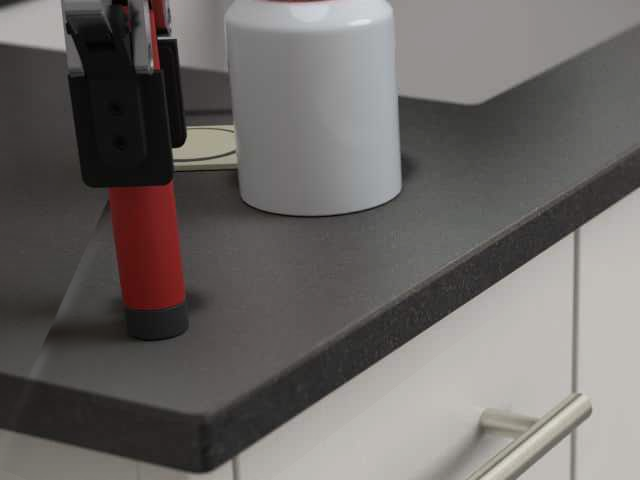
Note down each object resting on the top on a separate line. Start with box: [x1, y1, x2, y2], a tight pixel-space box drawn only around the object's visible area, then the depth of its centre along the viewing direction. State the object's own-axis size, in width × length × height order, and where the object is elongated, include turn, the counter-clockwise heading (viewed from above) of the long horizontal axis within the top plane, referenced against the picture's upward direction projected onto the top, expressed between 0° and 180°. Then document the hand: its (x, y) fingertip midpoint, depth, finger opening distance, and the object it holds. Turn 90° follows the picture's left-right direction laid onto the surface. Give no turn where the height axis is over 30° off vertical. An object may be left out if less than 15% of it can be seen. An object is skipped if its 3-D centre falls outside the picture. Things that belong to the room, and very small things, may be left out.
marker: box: [106, 6, 190, 341], centre depth 61 cm, size 2×2×12 cm
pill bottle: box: [223, 0, 403, 217], centre depth 76 cm, size 8×8×11 cm
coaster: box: [172, 124, 238, 172], centre depth 85 cm, size 8×7×1 cm
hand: (137, 160), depth 60 cm, fingers open, 3 cm apart
